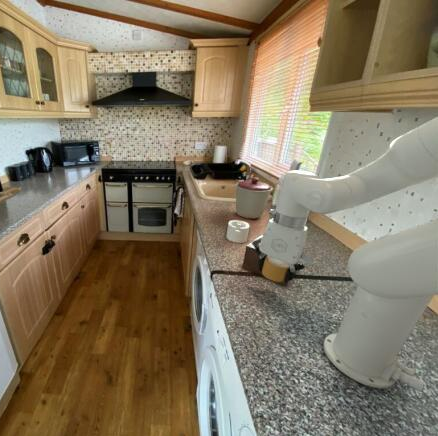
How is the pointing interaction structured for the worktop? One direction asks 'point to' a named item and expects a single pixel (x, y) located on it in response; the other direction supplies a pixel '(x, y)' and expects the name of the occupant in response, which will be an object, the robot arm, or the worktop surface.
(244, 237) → the white slotted cylinder
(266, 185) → the canister
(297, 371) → the worktop surface
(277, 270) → the tape roll
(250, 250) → the brown square pedestal
